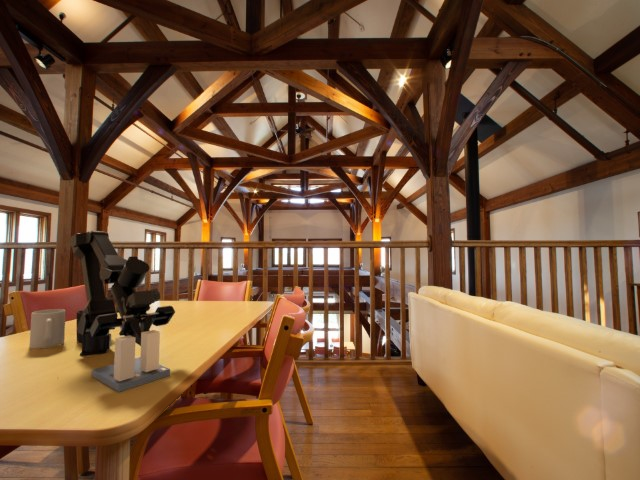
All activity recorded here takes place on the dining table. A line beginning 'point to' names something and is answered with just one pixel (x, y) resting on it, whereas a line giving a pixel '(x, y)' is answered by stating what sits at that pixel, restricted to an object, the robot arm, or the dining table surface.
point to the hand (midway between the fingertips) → (146, 347)
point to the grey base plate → (139, 378)
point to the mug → (47, 328)
